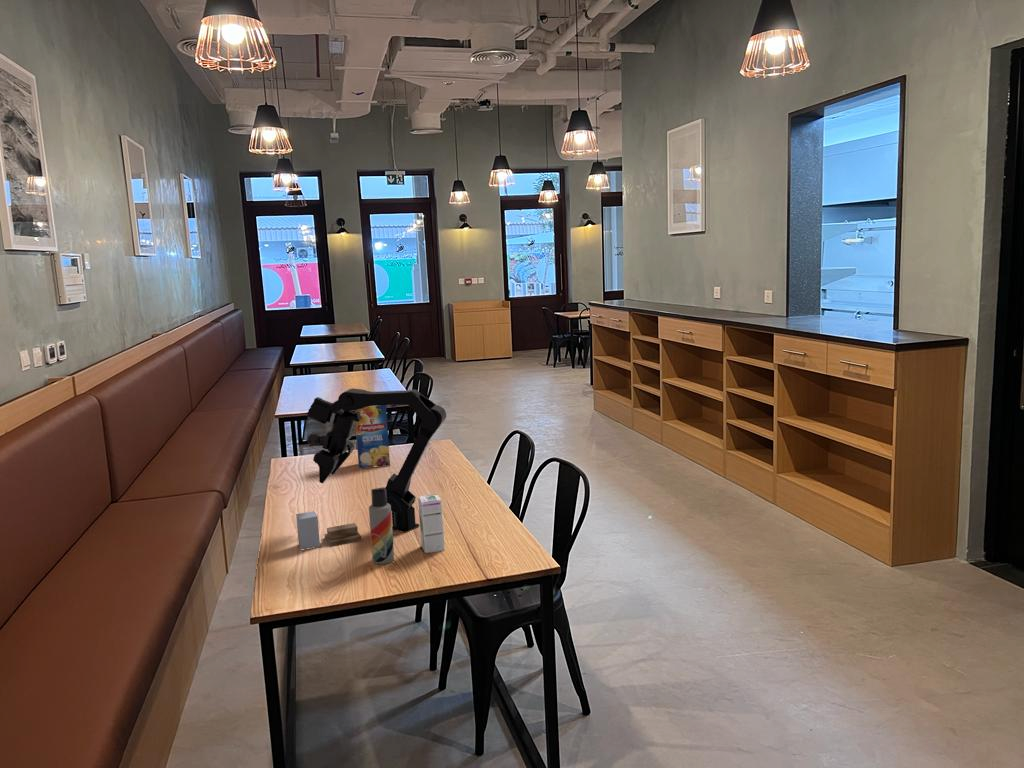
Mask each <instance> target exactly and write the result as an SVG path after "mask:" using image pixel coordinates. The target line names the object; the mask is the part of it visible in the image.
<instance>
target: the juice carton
mask: <svg viewBox="0 0 1024 768" xmlns="http://www.w3.org/2000/svg"><path fill="white" fill-rule="evenodd" d="M353 411H354V412H353V413H356V412H358V411H359V413H360V415H361V416H362V418H363V419H362V420H360V421H359V422H356V421H354V424H355V432H356V433H355V434H356V438H355V439H356V448H357V449H356V450H357V462H358V463H357V464H358V469H359V468H362V469H367V468H366V467H372V468H375V467H374V466H382V467H384V466H383V465H390V466H391V463H390V462H391V460H390V448H389V447H390V443H389V431H388V430H389V429H388V415H387V405H384V406H369V407H365V408H361V409H357V410H353Z"/></svg>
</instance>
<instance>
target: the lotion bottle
mask: <svg viewBox="0 0 1024 768" xmlns="http://www.w3.org/2000/svg"><path fill="white" fill-rule="evenodd" d="M370 491H371V493H370V494H371V504H370V505H369V506H368V515H369V529H370V542H371V543H370V544H371V556H372V558H371V559H372V562H373V564H377V565H386V564H389V563H392V562H394V559H395V552H394V551H395V550H394V548H395V547H394V536H393V533H394V531H393V530H392V526H393V525H392V511H391V505H390V504H389V503H387V495H386V488H385V487H378V488H372V489H371V490H370Z"/></svg>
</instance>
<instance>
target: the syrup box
mask: <svg viewBox="0 0 1024 768" xmlns="http://www.w3.org/2000/svg"><path fill="white" fill-rule="evenodd" d="M417 498H418V500H417V501H418V516H419V527H420V529H419V531H420V540H421V541H420V542H421V543H420V544H421V548H422V550H423V552H424V553H425V554H426V553H427V554H430V553H436V552H442V551H443V552H444V551H446V550H445V549H446V548H445V531H444V520H443V518H444V517H443V508H442V507H443V505H442V500H441V498H440V497H439V495H438V494H426V495H421V496H418V497H417Z"/></svg>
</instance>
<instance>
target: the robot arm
mask: <svg viewBox="0 0 1024 768" xmlns="http://www.w3.org/2000/svg"><path fill="white" fill-rule="evenodd" d="M384 405H386V406H401V405H402V406H405V405H408V406H409V407H410V409H412V411H413V412H414V413H415V415H416V416H417V417H418V418H419V419H421V420H420V424H419V428H418V432H417V436H416V438H415V440H414V441H413V444H412V446H411V448H410V450H409V452H408V454H407V455H406V458H405V460H404V462H403V464H402V466H401V468H400V470H399V472H398V474H396V473H395V472H394V473H393V474H392V475H391V476H390V477H389V478H388V480H387V482H386V486H385V487H384V488H386V495H387V503H389V504H390V505H391V517H392V531H397V532H402V533H407V532H410V531H411V530H413V529H415V528H419V527H420V523H416V510H415V507H414V506H413V504H415V502H416V499H417V498H416V495H414V494H413V492H411V491H410V488H411V487H410V485H411V482H412V477H413V475H414V473H415V471H416V468H417V467H418V465H419V463H420V461H421V459H422V458H423V455H424V453H425V451H426V449H427V447H428V445H429V442H430V441H431V440H432V438H433V436H434V435H435V434H436V432H437V431H438V430H439V428H440V427H441V426H442V424H443V423H444V422H445V421H446V419H447V411H446V410H445V409H444V407H442V406H440V405H437V404H436V403H434V402H433V401H432V400H431V399H429V398H427V397H426V396H425V395H423V394H422V393H421V392H419V390H418V389H409V390H408V389H407V390H391V391H390V390H388V391H384V390H383V391H369V390H366V389H363V388H362V389H359V388H353V387H352V388H349V389H347V390H344V391H343V392H342V393H340V395H338V398H337V400H335V401H334V402H331V401H328V400H325V399H323V398H321V397H318V396H317V397H315V398H314V399H313V402H312V403H311V405H310V407H309V409H308V411H307V415H306V416H307V419H308V420H311V421H314V422H316V423H320V424H321V425H325V426H327V425H328V424H329V423H330V424H332V425H331V429H330V430H329V431H327V432H326V431H325V432H321V431H319V432H312V433H310V434H308V435H307V439H306V442H307V443H308V446H309V447H314V446H315V447H321V446H322V449H321V450H318V451H317V452H316V453H314V455H313V458H312V460H313V462H314V463H315V464H317V466H318V470H319V471H318V473H319V475H318V478H319V481H318V482H319V483H320V484H324V483H325V482H326V480H327V479H328V478H329V476H330V475H335V473H336V472H337V471H338V470H339V469H340V467H341V466H342V465H343V464H344V463H345V461H346V460H347V459H348V458H349V456H351V454H352V453H353V452H354V448H355V445H354V443H353V442H352V441H350V439H351V438H352V436H353V434H351V433H352V429H353V427H354V424H355V421H356V422H359V421H360V420H362V419H363V418H362V416H361V415H360V413H359V411H358V412H356V413H355V412H353V411H354V410H357V409H361V408H365V407H369V406H384ZM332 422H333V423H332Z"/></svg>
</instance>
